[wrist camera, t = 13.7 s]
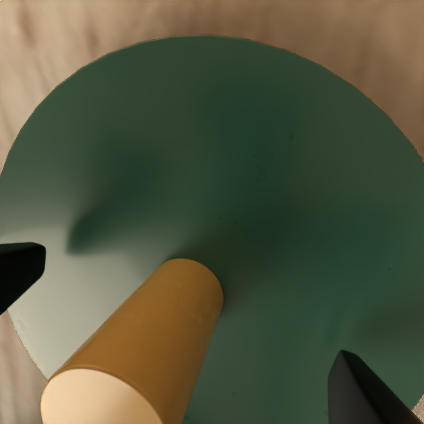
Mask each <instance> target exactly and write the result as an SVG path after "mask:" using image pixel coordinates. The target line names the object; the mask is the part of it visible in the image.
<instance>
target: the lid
mask: <svg viewBox="0 0 424 424" xmlns="http://www.w3.org/2000/svg"><path fill="white" fill-rule="evenodd" d="M21 242H35V243H38V244H41V245H44V246H45V247H46V263H45V271H44V273H43V275H42V277H41V278H40V279H39V280H38V281H37V282H36V283H35V284H33V285H32V286H31V287H30V288H29V289H28V290H27V291H26V292H25V293H24V294H23V295H22V296H21V297H20V298H19V299H18V300H17V301H15V302H14V303H13V304H12V305H11V306H10V307H9V308H8V309H7V311H8V314H9V316H10V319H11V322H12V324H13V326H14V328H15V330H16V332H17V334H18V336H19V338H20V340H21V342H22V344H23V346H24V347H25V349H26V350H27V352H28V354H29V355H30V357H31V358H32V360H33V362H34V363H35V365H36V366H37V367H38V369H39V370H40V371H41V373H42V374H43V375H44V377H45V378H46V379H47V383H46V384H45V386H44V389H43V392H42V394H41V400H40V411H41V417H42V421H43V424H329V423H328V384H327V383H328V375H329V372H330V370H331V368H332V365H333V363H334V361H335V358H336V356H337V354H338V352H339V351H340V350H346V351H349V352H352V353H355V354H357V355H358V356H359V357H360V358H361V359H362V360H363V361H364V362H365V363H366V364H367V365H368V366H369V367H370V368H371V369H372V370H373V371H374V372H375V373H376V374H377V375H378V377H379V378H380V379H381V380H382V381H383V382H384V383H385V384H386V385H387V386H388V387H389V388H390V389H391V390H392V391H393V392H394V393H395V394H396V395H397V396H398V397H399V398H400V399H401V401H402V402H403V403H404V404H405V405H406V406H407V407H408V408H409V409H410V410H412V409H413V407H414V406H415V405H416V404H417V403H418V401H419V400H420V398H421V397H422V395H423V394H424V163H423V161H422V160H421V158H420V156H419V155H418V153H417V151H416V150H415V148H414V147H413V145H412V144H411V142H410V141H409V140H408V139H407V138H406V136H405V135H404V134H403V133H402V132H401V131H400V129H399V128H398V127H397V126H396V125H395V124H394V122H393V121H392V120H391V119H390V118H389V116H388V115H387V114H386V113H385V112H384V111H382V110H381V109H380V108H379V107H378V106H377V105H376V104H374V103H373V102H372V101H371V100H370V99H369V98H368V97H366V96H365V95H364V94H363V93H362V92H361V91H359V90H358V89H357V88H356V87H355V86H353V85H351V84H350V83H348V82H347V81H345V80H344V79H342V78H340V77H339V76H337V75H336V74H334V73H333V72H331V71H329V70H328V69H326V68H325V67H323V66H322V65H319V64H317V63H315V62H313V61H310V60H308V59H306V58H304V57H301V56H299V55H297V54H295V53H292V52H290V51H288V50H286V49H282V48H279V47H275V46H271V45H268V44H264V43H260V42H257V41H253V40H249V39H244V38H235V37H227V36H218V35H180V36H170V37H164V38H159V39H154V40H148V41H143V42H139V43H136V44H133V45H130V46H128V47H125V48H122V49H119V50H116V51H113V52H111V53H108V54H106V55H104V56H102V57H101V58H99V59H97V60H95V61H93V62H91V63H89V64H88V65H86V66H84V67H82V68H80V69H79V70H78V71H76V72H75V73H74V74H72V75H71V76H70V77H68V78H67V79H66V80H65V81H63V82H62V83H61V84H59V85H58V86H57V87H56V88H55V89H54V90H53V91H52V92H51V93H50V94H49V95H48V96H47V97H46V98H45V99H44V100H43V101H42V102H41V103H40V104H39V105H38V106H37V108H36V109H35V110H34V112H33V113H32V114H31V116H30V117H29V119H28V120H27V121H26V123H25V124H24V126H23V127H22V128H21V130H20V132H19V134H18V136H17V138H16V140H15V142H14V143H13V145H12V147H11V149H10V151H9V153H8V156H7V159H6V162H5V164H4V167H3V170H2V173H1V176H0V244H6V243H21Z"/></svg>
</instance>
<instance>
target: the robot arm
mask: <svg viewBox="0 0 424 424" xmlns="http://www.w3.org/2000/svg"><path fill="white" fill-rule="evenodd" d="M45 263H46V247H45V246H44V245H41V244H38V243H35V242H21V243H6V244H0V315H1V314H2V313H4V312H5V311H6V310H7V309H8V308H9V307H10V306H11V305H12V304H13V303H14V302H15V301H17V300H18V299H19V298H20V297H21V296H22V295H23V294H24V293H25V292H26V291H27V290H28V289H29V288H30V287H31V286H32V285H33V284H35V283H36V282H37V281H38V280H39V279H40V278H41V277H42V275H43V273H44V271H45ZM327 384H328V423H329V424H424V423H423V422H422V421H421V420H420V419H419V418H418V417H417V416H416V415H415V414H414V413H413V412H412V411H411V410H410V409H409V408H408V407H407V406H406V405H405V404H404V403H403V402H402V401H401V399H400V398H399V397H398V396H397V395H396V394H395V393H394V392H393V391H392V390H391V389H390V388H389V387H388V386H387V385H386V384H385V383H384V382H383V381H382V380H381V379H380V378H379V377H378V375H377V374H376V373H375V372H374V371H373V370H372V369H371V368H370V367H369V366H368V365H367V364H366V363H365V362H364V361H363V360H362V359H361V358H360V357H359V356H358V355H357V354H355V353H352V352H349V351H346V350H340V351H339V352H338V354H337V356H336V358H335V361H334V363H333V365H332V368H331V370H330V372H329V375H328V383H327Z"/></svg>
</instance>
